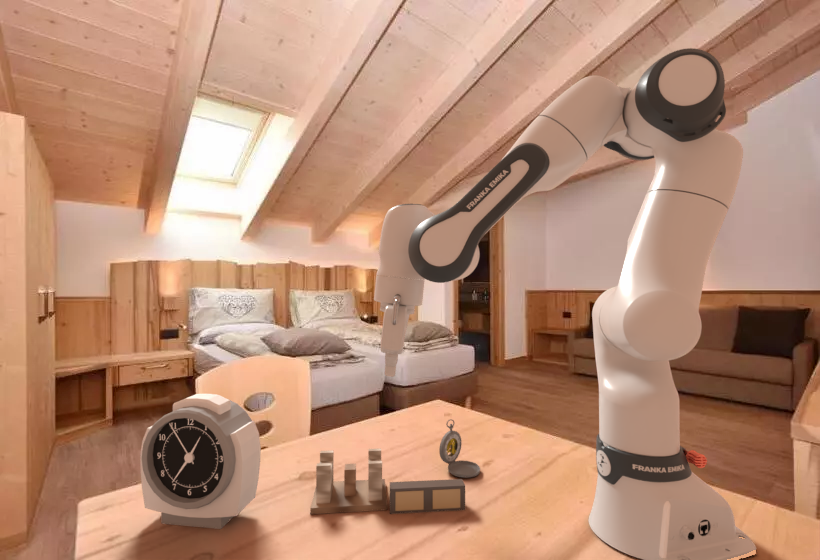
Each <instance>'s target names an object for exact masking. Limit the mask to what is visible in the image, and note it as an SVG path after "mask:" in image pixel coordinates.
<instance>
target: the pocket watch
mask: <svg viewBox="0 0 820 560" xmlns="http://www.w3.org/2000/svg"><path fill="white" fill-rule="evenodd" d="M450 421H452V423H450V424H449V425H448V423H449V422H450ZM454 426H455V421H454V419H448V420H447V421H446V427H447V428H448V429H449V431H447V432H446V433H444V435H443V437H442V438H441V441H440V445H439V452H438V453H439V456H440V457H439V458H440V459H441V461H443V462H444V463H446V464H448V465H447V470H448V472H449V474H451V475H452V476H455V477H458V478H461V479H462V478H463V479H464V478H466V479H469V478H474V477H477V476H478V475H479V474H480V473H481V467H480V465H479V464H478V463H476V462H473V461H469V460H457V459H458V457H459V455H460V453H461V450H462V438H461V434H460V433H459V432H458V431H457V430H453V429H454Z"/></svg>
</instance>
